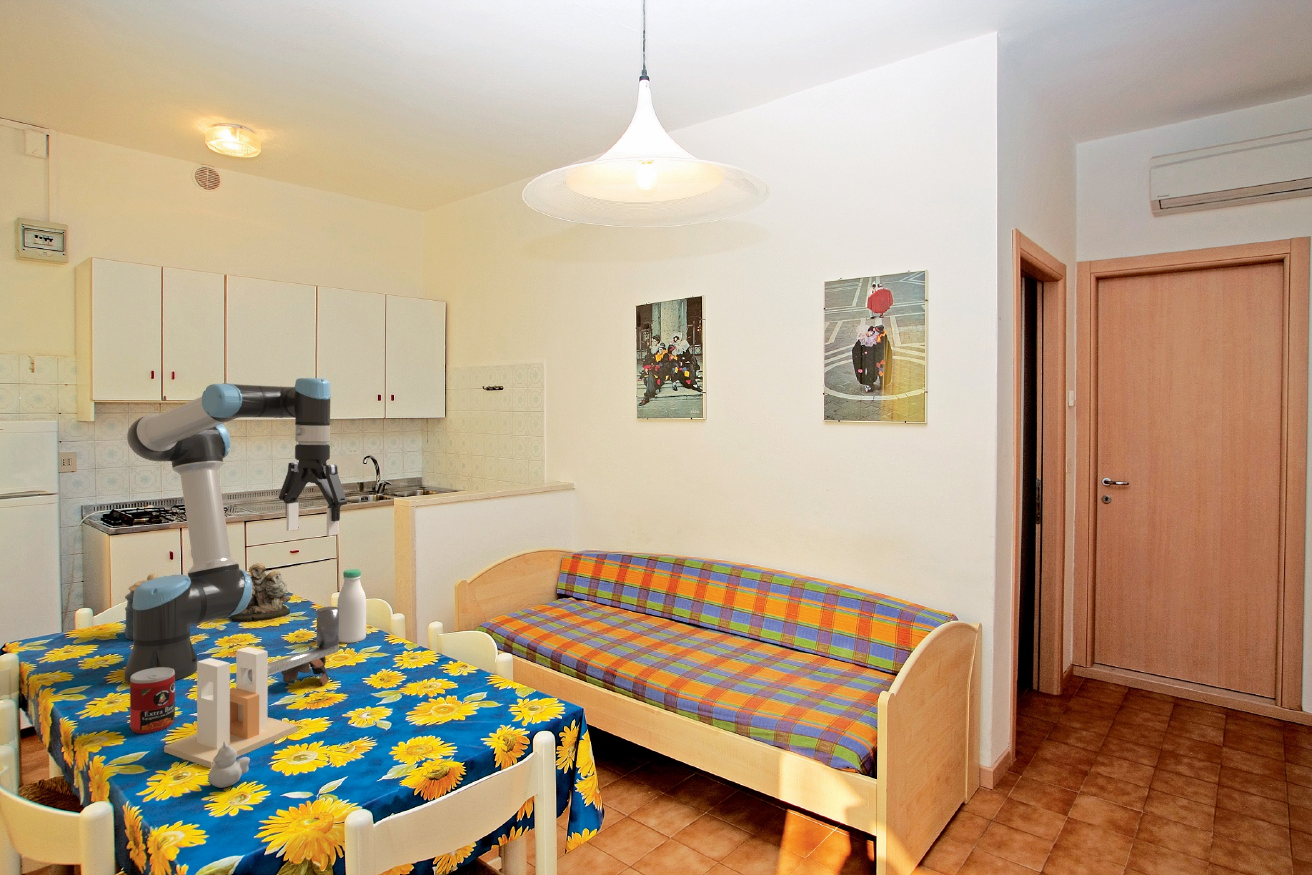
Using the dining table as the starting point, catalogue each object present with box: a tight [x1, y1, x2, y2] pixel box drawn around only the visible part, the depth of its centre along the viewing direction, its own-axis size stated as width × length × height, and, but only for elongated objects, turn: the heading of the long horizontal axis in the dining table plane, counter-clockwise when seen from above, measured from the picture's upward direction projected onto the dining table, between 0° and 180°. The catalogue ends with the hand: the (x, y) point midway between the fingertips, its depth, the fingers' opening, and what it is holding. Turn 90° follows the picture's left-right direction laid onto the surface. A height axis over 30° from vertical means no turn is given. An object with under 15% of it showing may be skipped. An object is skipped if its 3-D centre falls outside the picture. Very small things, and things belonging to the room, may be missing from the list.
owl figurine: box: [229, 562, 292, 623], centre depth 233 cm, size 18×12×17 cm, turn 131°
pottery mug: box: [280, 656, 330, 687], centre depth 178 cm, size 12×10×8 cm
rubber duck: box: [207, 742, 251, 789], centre depth 129 cm, size 5×7×8 cm
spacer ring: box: [230, 687, 259, 739], centre depth 146 cm, size 8×2×8 cm, turn 65°
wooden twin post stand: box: [163, 646, 298, 770], centre depth 145 cm, size 14×18×17 cm
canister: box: [124, 573, 159, 641], centre depth 212 cm, size 13×13×18 cm
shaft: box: [248, 606, 340, 681], centre depth 158 cm, size 21×5×10 cm, turn 154°
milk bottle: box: [336, 568, 367, 644], centre depth 211 cm, size 8×8×20 cm
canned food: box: [129, 667, 176, 734], centre depth 152 cm, size 8×8×11 cm
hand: (312, 532), depth 175 cm, fingers open, 13 cm apart
